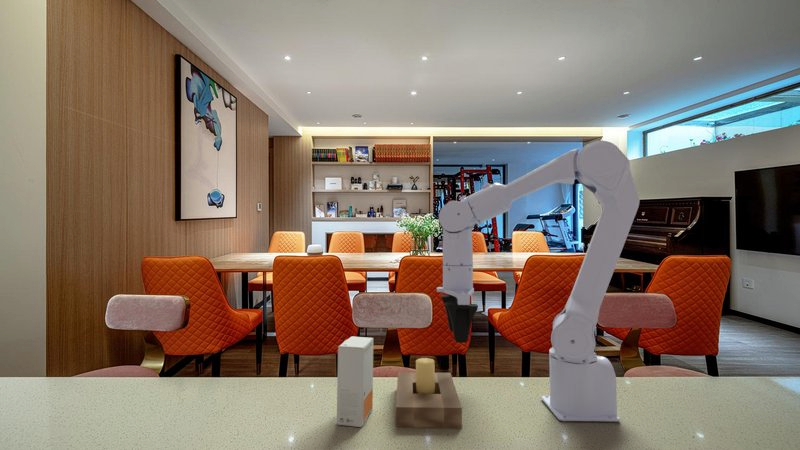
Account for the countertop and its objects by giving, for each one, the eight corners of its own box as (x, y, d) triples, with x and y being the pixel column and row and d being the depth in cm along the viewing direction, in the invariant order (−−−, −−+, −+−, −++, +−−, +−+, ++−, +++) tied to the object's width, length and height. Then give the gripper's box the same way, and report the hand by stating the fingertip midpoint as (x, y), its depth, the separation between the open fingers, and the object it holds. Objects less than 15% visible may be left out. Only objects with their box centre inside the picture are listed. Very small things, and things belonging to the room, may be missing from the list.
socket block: (450, 388, 67) (450, 372, 67) (462, 428, 53) (461, 407, 53) (397, 388, 68) (397, 372, 68) (395, 427, 54) (395, 407, 54)
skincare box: (362, 428, 53) (363, 348, 54) (336, 425, 54) (336, 346, 55) (373, 409, 59) (374, 337, 60) (349, 406, 60) (350, 335, 60)
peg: (434, 398, 62) (433, 357, 62) (436, 406, 59) (435, 364, 59) (416, 398, 62) (415, 358, 62) (417, 407, 59) (416, 364, 59)
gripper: (433, 262, 76) (434, 326, 75) (440, 267, 61) (440, 347, 61) (467, 262, 75) (467, 326, 75) (481, 268, 61) (482, 347, 60)
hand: (458, 336), depth 68 cm, fingers open, 7 cm apart
